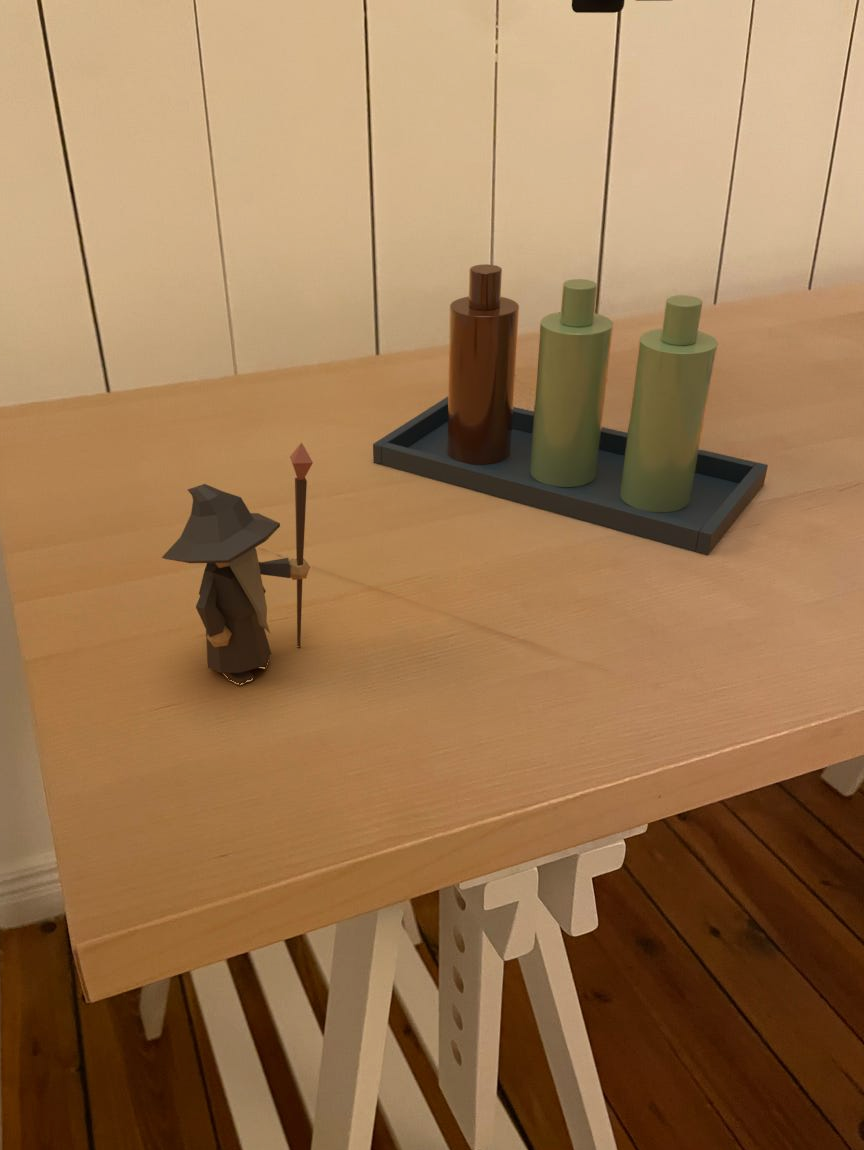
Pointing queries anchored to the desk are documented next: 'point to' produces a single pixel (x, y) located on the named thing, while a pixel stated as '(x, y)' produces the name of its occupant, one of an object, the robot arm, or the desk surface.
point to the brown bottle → (482, 370)
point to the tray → (694, 528)
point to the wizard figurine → (239, 572)
